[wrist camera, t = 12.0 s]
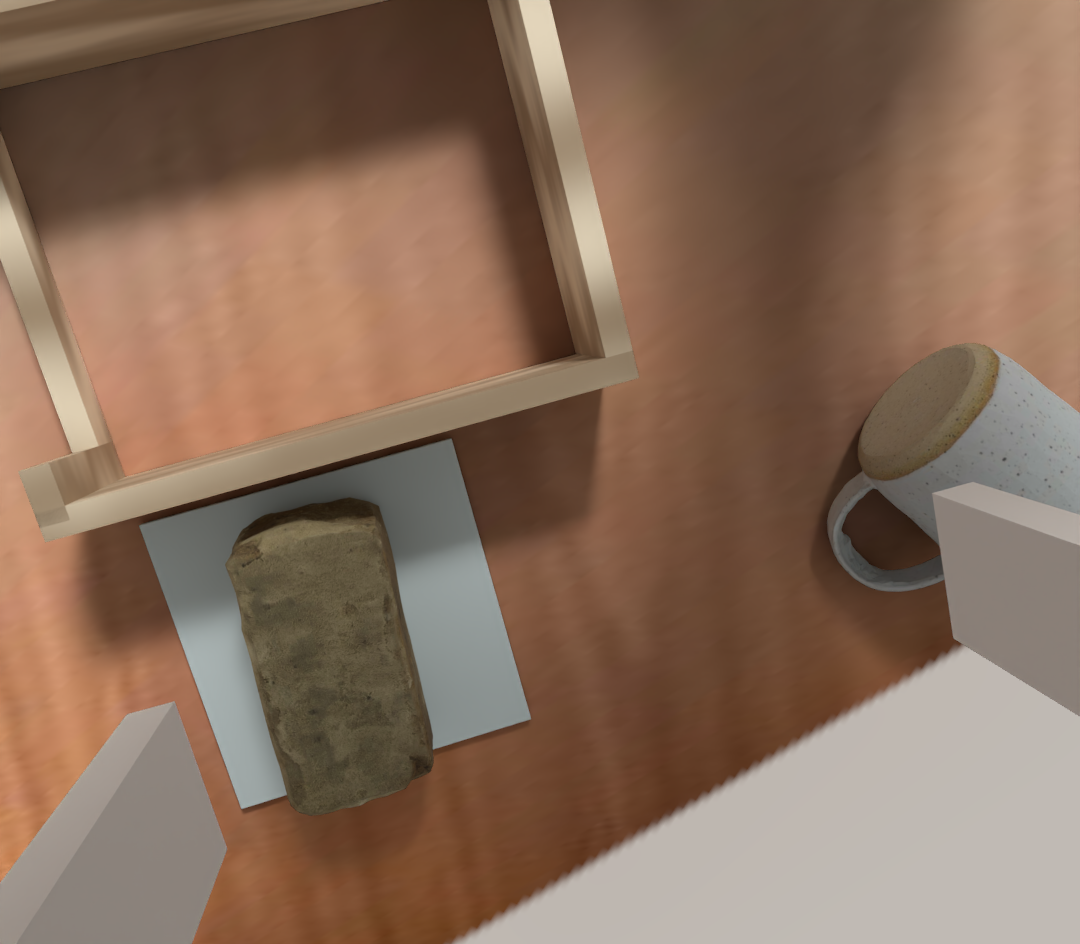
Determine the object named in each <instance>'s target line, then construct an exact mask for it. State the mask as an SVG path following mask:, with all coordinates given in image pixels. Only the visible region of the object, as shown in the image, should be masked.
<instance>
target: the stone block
mask: <svg viewBox="0 0 1080 944" xmlns="http://www.w3.org/2000/svg"><path fill="white" fill-rule="evenodd" d="M225 566H226V569H227V572H228V574H229V577H230V579H231V582H232V585H233V587H234V590H235V593H236V597H237V602H238V606H239V610H240V615H241V628H242V633H243V636H244V639H245V643H246V646H247V649H248V653H249V656H250V659H251V663H252V668H253V672H254V677H255V681H256V685H257V689H258V693H259V696H260V700H261V704H262V708H263V712H264V716H265V720H266V724H267V727H268V731H269V735H270V738H271V742H272V745H273V748H274V752H275V755H276V758H277V761H278V764H279V766H280V770H281V774H282V777H283V781H284V785H285V789H286V793H287V797H288V799H289V802H290V804H291V806H292V807H293V808H294V809H295V810H296V811H298V812H299V813H303V814H307V815H310V816H312V815H322V814H327V813H331V812H334V811H337V810H339V809H344V808H351V807H356V806H360V805H362V804H364V803H366V802H368V801H370V800H373V799H376V798H380V797H385V796H388V795H390V794H393V793H395V792H398V791H400V790H403V789H406V787H407V786H408V784H409V783H410V782H411V780H413V779H416V778H419V777H421V776H423V775H425V774H427V773H429V772H430V771H431V769H432V766H433V733H432V728H431V723H430V719H429V715H428V710H427V706H426V702H425V698H424V694H423V690H422V685H421V681H420V676H419V672H418V668H417V663H416V660H415V656H414V652H413V647H412V643H411V639H410V635H409V631H408V628H407V624H406V620H405V616H404V612H403V607H402V603H401V597H400V591H399V585H398V579H397V573H396V566H395V562H394V558H393V553H392V549H391V545H390V541H389V537H388V533H387V530H386V527H385V524H384V521H383V518H382V514H381V511H380V508H379V506H378V505H376V504H373V503H371V502H369V501H364V500H360V499H355V498H350V497H349V498H343V499H339V500H335V501H332V502H327V503H312V504H308V505H305V506H302V507H298V508H295V509H292V510H288V511H282V512H277V513H270V514H266V515H263V516H261V517H260V518H258V519H256V520H255V521H253V522H252V523H251V524H250V525H249V526H247V527H246V528H244V529H243V530H242V531H241V532H240V534H239V536H238V538H237V540H236V541H235V543H234V545H233V548H232V553H231V555H230V557H229V559H228V560H227V561H226V563H225Z"/></svg>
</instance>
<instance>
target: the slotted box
mask: <svg viewBox="0 0 1080 944" xmlns="http://www.w3.org/2000/svg"><path fill="white" fill-rule="evenodd" d="M383 1H387V0H0V89H3V88H8V87H12V86H16V85H21V84H25V83H29V82H34V81H38V80H42V79H47V78H51V77H56V76H60V75H64V74H69V73H73V72H77V71H82V70H86V69H90V68H95V67H99V66H104V65H108V64H112V63H117V62H121V61H125V60H130V59H134V58H138V57H143V56H147V55H152V54H156V53H160V52H165V51H169V50H173V49H178V48H182V47H186V46H191V45H195V44H200V43H204V42H208V41H213V40H217V39H221V38H226V37H230V36H234V35H239V34H243V33H248V32H252V31H256V30H261V29H265V28H269V27H274V26H278V25H282V24H287V23H291V22H296V21H300V20H304V19H309V18H313V17H317V16H322V15H326V14H330V13H335V12H339V11H344V10H348V9H352V8H357V7H361V6H365V5H370V4H374V3H378V2H383ZM487 2H488V6H489V10H490V14H491V18H492V22H493V26H494V30H495V34H496V38H497V41H498V45H499V49H500V53H501V57H502V61H503V65H504V69H505V73H506V77H507V81H508V85H509V89H510V93H511V97H512V101H513V105H514V109H515V113H516V117H517V121H518V125H519V129H520V133H521V137H522V141H523V145H524V149H525V153H526V157H527V161H528V165H529V169H530V173H531V177H532V181H533V185H534V189H535V193H536V197H537V201H538V205H539V209H540V213H541V217H542V221H543V225H544V229H545V233H546V237H547V241H548V245H549V249H550V253H551V257H552V261H553V265H554V269H555V273H556V277H557V281H558V285H559V289H560V293H561V297H562V301H563V305H564V309H565V313H566V317H567V320H568V324H569V328H570V332H571V336H572V340H573V344H574V348H575V352H576V354H575V355H571V356H568V357H564V358H560V359H557V360H553V361H549V362H546V363H542V364H538V365H534V366H531V367H527V368H523V369H520V370H516V371H512V372H509V373H505V374H501V375H498V376H494V377H490V378H487V379H483V380H479V381H476V382H472V383H468V384H465V385H461V386H457V387H454V388H450V389H446V390H443V391H439V392H435V393H432V394H428V395H424V396H421V397H417V398H413V399H410V400H406V401H402V402H399V403H395V404H391V405H388V406H384V407H380V408H377V409H373V410H369V411H366V412H362V413H358V414H355V415H351V416H347V417H344V418H340V419H336V420H333V421H329V422H325V423H322V424H318V425H314V426H311V427H307V428H303V429H300V430H296V431H292V432H289V433H285V434H281V435H278V436H274V437H270V438H267V439H263V440H259V441H256V442H252V443H248V444H245V445H241V446H237V447H233V448H230V449H226V450H222V451H219V452H215V453H211V454H208V455H204V456H200V457H197V458H193V459H189V460H186V461H182V462H178V463H175V464H171V465H167V466H164V467H160V468H156V469H153V470H149V471H145V472H142V473H138V474H134V475H131V476H127V477H125V475H124V472H123V469H122V466H121V464H120V461H119V458H118V455H117V452H116V450H115V447H114V444H113V441H112V439H111V436H110V433H109V430H108V428H107V425H106V422H105V419H104V416H103V414H102V411H101V408H100V405H99V403H98V400H97V397H96V394H95V392H94V389H93V386H92V383H91V380H90V378H89V375H88V372H87V369H86V367H85V364H84V361H83V358H82V356H81V353H80V350H79V347H78V344H77V342H76V339H75V336H74V333H73V331H72V328H71V325H70V322H69V320H68V317H67V314H66V311H65V308H64V306H63V303H62V300H61V297H60V295H59V292H58V289H57V286H56V283H55V281H54V278H53V275H52V272H51V270H50V267H49V264H48V261H47V259H46V256H45V253H44V250H43V247H42V245H41V242H40V239H39V236H38V234H37V231H36V228H35V225H34V223H33V220H32V217H31V214H30V211H29V209H28V206H27V203H26V200H25V198H24V195H23V192H22V189H21V187H20V184H19V181H18V178H17V175H16V173H15V170H14V167H13V164H12V162H11V159H10V156H9V153H8V150H7V148H6V145H5V142H4V139H3V137H2V134H1V131H0V260H1V262H2V265H3V268H4V270H5V273H6V276H7V278H8V281H9V284H10V286H11V289H12V292H13V295H14V297H15V300H16V303H17V305H18V308H19V311H20V313H21V316H22V319H23V322H24V324H25V327H26V330H27V332H28V335H29V338H30V340H31V343H32V346H33V348H34V351H35V354H36V357H37V359H38V362H39V365H40V367H41V370H42V373H43V375H44V378H45V381H46V384H47V386H48V389H49V392H50V394H51V397H52V400H53V402H54V405H55V408H56V410H57V413H58V416H59V419H60V421H61V424H62V427H63V429H64V432H65V435H66V437H67V440H68V443H69V446H70V448H71V451H72V453H71V454H68V455H65V456H62V457H59V458H57V459H54V460H51V461H48V462H45V463H42V464H39V465H36V466H33V467H30V468H27V469H24V470H21V471H18V472H19V475H20V478H21V480H22V483H23V485H24V488H25V491H26V493H27V496H28V498H29V501H30V504H31V506H32V509H33V511H34V514H35V517H36V519H37V522H38V524H39V527H40V530H41V532H42V535H43V537H44V540H45V542H48V541H52V540H56V539H59V538H63V537H66V536H70V535H74V534H77V533H81V532H84V531H88V530H92V529H95V528H99V527H103V526H106V525H110V524H113V523H117V522H121V521H124V520H128V519H131V518H135V517H139V516H142V515H146V514H149V513H153V512H157V511H160V510H164V509H168V508H171V507H175V506H178V505H182V504H186V503H189V502H193V501H196V500H200V499H204V498H207V497H211V496H214V495H218V494H222V493H225V492H229V491H233V490H236V489H240V488H243V487H247V486H251V485H254V484H258V483H261V482H265V481H269V480H272V479H276V478H279V477H283V476H287V475H290V474H294V473H298V472H301V471H305V470H308V469H312V468H316V467H319V466H323V465H326V464H330V463H334V462H337V461H341V460H344V459H348V458H352V457H355V456H359V455H363V454H366V453H370V452H373V451H377V450H381V449H384V448H388V447H391V446H395V445H399V444H402V443H406V442H409V441H413V440H417V439H420V438H424V437H428V436H431V435H435V434H438V433H442V432H446V431H449V430H453V429H456V428H460V427H464V426H467V425H471V424H474V423H478V422H482V421H485V420H489V419H493V418H496V417H500V416H503V415H507V414H511V413H514V412H518V411H521V410H525V409H529V408H532V407H536V406H539V405H543V404H547V403H550V402H554V401H558V400H561V399H565V398H568V397H572V396H576V395H579V394H583V393H586V392H590V391H594V390H597V389H601V388H604V387H608V386H612V385H615V384H619V383H623V382H626V381H630V380H633V379H637V378H639V375H638V371H637V367H636V362H635V358H634V354H633V350H632V346H631V341H630V337H629V333H628V329H627V325H626V320H625V316H624V312H623V308H622V304H621V299H620V295H619V291H618V287H617V283H616V278H615V274H614V270H613V266H612V262H611V257H610V253H609V249H608V245H607V241H606V236H605V232H604V228H603V224H602V220H601V215H600V211H599V207H598V203H597V199H596V194H595V190H594V186H593V182H592V178H591V173H590V169H589V165H588V161H587V157H586V152H585V148H584V144H583V140H582V136H581V131H580V127H579V123H578V119H577V115H576V110H575V106H574V102H573V98H572V94H571V89H570V85H569V81H568V77H567V73H566V68H565V64H564V60H563V56H562V52H561V47H560V43H559V39H558V35H557V31H556V26H555V22H554V18H553V14H552V10H551V5H550V1H549V0H487Z"/></svg>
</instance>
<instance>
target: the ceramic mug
mask: <svg viewBox="0 0 1080 944" xmlns="http://www.w3.org/2000/svg"><path fill="white" fill-rule="evenodd" d="M858 459H859V462H860V465H861V468H862V472H860V473H859V474H858V475H857V476H856V477H854V478H853V479H851V480H850V481H849V482H848V483H847V484H846V485H845V486H844V487H843V488H842V490H841V491H840V493H839V494H838V496H837V497H836V498H835V500H834V501H833V504H832V506H831V508H830V511H829V514H828V519H827V528H828V536H829V539H830V543H831V546H832V549H833V553H834V555H835V556H836V558H837V560H838V562H839V563H840V564H841V565H842V567H843V568H844V569H845V570H846V571H847V572H848V573H849V574H850V575H851V576H852V577H853V578H854V579H856V580H857V581H859V582H861V583H862V584H864V585H866V586H867V587H870V588H873V589H876V590H880V591H889V592H900V591H909V590H915V589H920V588H923V587H927V586H930V585H933V584H935V583H938V582H940V581H942V580H944V579H945V578H944V572H943V565H942V558H941V555H938V556H937V557H935V558H932V559H930V560H929V561H926V562H924V563H922V564H919V565H916V566H913V567H910V568H906V569H897V570H883V569H879V568H877V567H876V566H871V565H870V564H869V563H868V562H867V561H866V560H865V559H864V558H863V557H862V556H861V555H860V554H859V553H858V552H857V551H856V550H855V549H854V548H853V546H852V545H851V539H850V538H849V536H847V535H846V534H843V532H842V531H841V530H842V525H843V523H844V520H845V519H846V515H847V514H848V512H849V511H850V510H851V509H852V508H853V507H854V505H855V504H856V503H857V502H858V500H859V499H861V498H863V497H864V496H865V494H866V493H867V492H868V491H870V490H872V489H877V490H878V491H879V492H880V493H881V494H882V495H883V496H884V497H886V498H887V499H888V500H889V501H890V502H891V503H892V504H893V505H894V506H896V507H897V508H898V509H899V510H901V511H902V512H903V513H904V514H906V515H907V516H908V517H909V518H911V519H912V520H913V521H914V522H915V523H916V524H917V525H918V526H919V527H920V528H921V529H922V530H923V531H924V532H925V533H926V534H927V535H929V536H930V537H931V538H932V539H933V540H934V541H935V542H936V543H937V544H938V545H939V546H940V544H939V538H938V531H937V524H936V517H935V510H934V504H933V497H932V493H934V492H938V491H942V490H945V489H949V488H953V487H956V486H960V485H963V484H967V483H971V482H975V483H978V484H981V485H985V486H988V487H991V488H994V489H998V490H1001V491H1004V492H1007V493H1011V494H1014V495H1017V496H1020V497H1024V498H1027V499H1030V500H1033V501H1037V502H1040V503H1043V504H1046V505H1050V506H1053V507H1056V508H1059V509H1063V510H1066V511H1069V512H1072V513H1076V514H1079V515H1080V413H1079V412H1077V411H1076V410H1075V409H1074V408H1072V407H1071V406H1070V405H1069V404H1067V403H1066V402H1065V401H1063V400H1062V399H1061V398H1059V397H1058V396H1057V395H1056V394H1054V393H1053V392H1052V391H1050V390H1049V389H1047V388H1046V387H1045V386H1044V385H1043V384H1041V383H1040V382H1039V381H1038V380H1037V379H1036V378H1035V377H1034V376H1032V375H1031V374H1030V373H1029V372H1028V371H1026V370H1025V369H1024V368H1023V367H1021V366H1020V365H1019V364H1017V363H1016V362H1014V361H1013V360H1012V359H1011V358H1009V357H1007V356H1005V355H1003V354H1001V353H1000V352H998V351H996V350H995V349H992V348H990V347H987V346H985V345H981V344H976V343H965V344H959V345H954V346H950V347H947V348H943V349H941V350H939V351H937V352H935V353H933V354H931V355H929V356H928V357H926V358H924V359H923V360H921V361H920V362H918V363H917V364H915V365H914V366H912V367H911V368H910V369H909V370H907V371H906V372H905V373H904V374H902V375H901V376H900V377H899V378H898V379H897V381H896V382H895V383H894V384H893V385H892V386H891V387H890V388H889V389H888V390H887V391H886V392H885V393H884V394H883V396H882V397H881V398H880V399H879V401H878V402H877V403H876V405H875V406H874V408H873V409H872V411H871V413H870V414H869V416H868V418H867V420H866V421H865V423H864V426H863V428H862V431H861V434H860V438H859V444H858Z"/></svg>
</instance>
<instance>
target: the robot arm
mask: <svg viewBox="0 0 1080 944" xmlns="http://www.w3.org/2000/svg"><path fill="white" fill-rule="evenodd" d="M932 497H933V504H934V510H935V517H936V524H937V531H938V538H939V544H940V551H941V558H942V565H943V572H944V578H945V585H946V592H947V599H948V606H949V612H950V619H951V626H952V633H953V638H954V639H955V640H957V641H958V642H960V643H962V644H963V645H965V646H966V647H968V648H970V649H971V650H973V651H975V652H976V653H978V654H980V655H981V656H983V657H984V658H986V659H988V660H989V661H991V662H993V663H994V664H996V665H998V666H999V667H1001V668H1002V669H1004V670H1005V671H1007V672H1009V673H1010V674H1012V675H1013V676H1015V677H1017V678H1018V679H1020V680H1022V681H1023V682H1025V683H1026V684H1028V685H1030V686H1031V687H1033V688H1035V689H1036V690H1038V691H1040V692H1041V693H1043V694H1044V695H1046V696H1048V697H1049V698H1051V699H1052V700H1054V701H1056V702H1057V703H1059V704H1060V705H1062V706H1064V707H1065V708H1067V709H1069V710H1070V711H1072V712H1073V713H1075V714H1077V715H1078V716H1080V515H1079V514H1076V513H1072V512H1069V511H1066V510H1063V509H1059V508H1056V507H1053V506H1050V505H1046V504H1043V503H1040V502H1037V501H1033V500H1030V499H1027V498H1024V497H1020V496H1017V495H1014V494H1011V493H1007V492H1004V491H1001V490H998V489H994V488H991V487H988V486H985V485H981V484H978V483H975V482H971V483H967V484H963V485H960V486H956V487H953V488H949V489H945V490H942V491H938V492H934V493H932ZM226 851H227V847H226V844H225V841H224V838H223V836H222V833H221V830H220V827H219V824H218V822H217V819H216V816H215V813H214V810H213V808H212V805H211V802H210V799H209V796H208V794H207V791H206V788H205V785H204V782H203V780H202V777H201V774H200V771H199V768H198V766H197V763H196V760H195V757H194V754H193V752H192V749H191V746H190V743H189V740H188V738H187V735H186V732H185V729H184V726H183V724H182V721H181V718H180V715H179V712H178V710H177V707H176V704H175V701H174V702H170V703H167V704H163V705H159V706H156V707H152V708H148V709H145V710H141V711H138V712H134V713H130V714H127V715H126V716H125V718H124V719H123V720H122V722H121V723H120V724H119V726H118V727H117V728H116V730H115V731H114V732H113V734H112V735H111V736H110V737H109V739H108V740H107V741H106V743H105V744H104V745H103V747H102V748H101V749H100V751H99V752H98V753H97V755H96V756H95V757H94V759H93V760H92V761H91V763H90V764H89V765H88V767H87V768H86V769H85V771H84V772H83V773H82V775H81V776H80V777H79V779H78V780H77V781H76V783H75V784H74V785H73V787H72V788H71V789H70V791H69V792H68V793H67V795H66V796H65V797H64V799H63V800H62V801H61V803H60V804H59V805H58V807H57V808H56V809H55V811H54V812H53V813H52V815H51V816H50V817H49V819H48V820H47V821H46V823H45V824H44V825H43V827H42V828H41V829H40V831H39V832H38V833H37V835H36V836H35V837H34V839H33V840H32V841H31V843H30V844H29V845H28V847H27V848H26V849H25V851H24V852H23V853H22V855H21V856H20V857H19V859H18V860H17V861H16V863H15V864H14V865H13V867H12V868H11V869H10V871H9V872H8V873H7V875H6V876H5V877H4V879H3V880H2V881H1V883H0V944H192V942H193V939H194V936H195V934H196V931H197V928H198V926H199V923H200V920H201V918H202V915H203V912H204V910H205V907H206V904H207V902H208V899H209V896H210V894H211V891H212V888H213V886H214V883H215V880H216V878H217V875H218V872H219V870H220V867H221V864H222V862H223V859H224V856H225V854H226Z"/></svg>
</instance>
